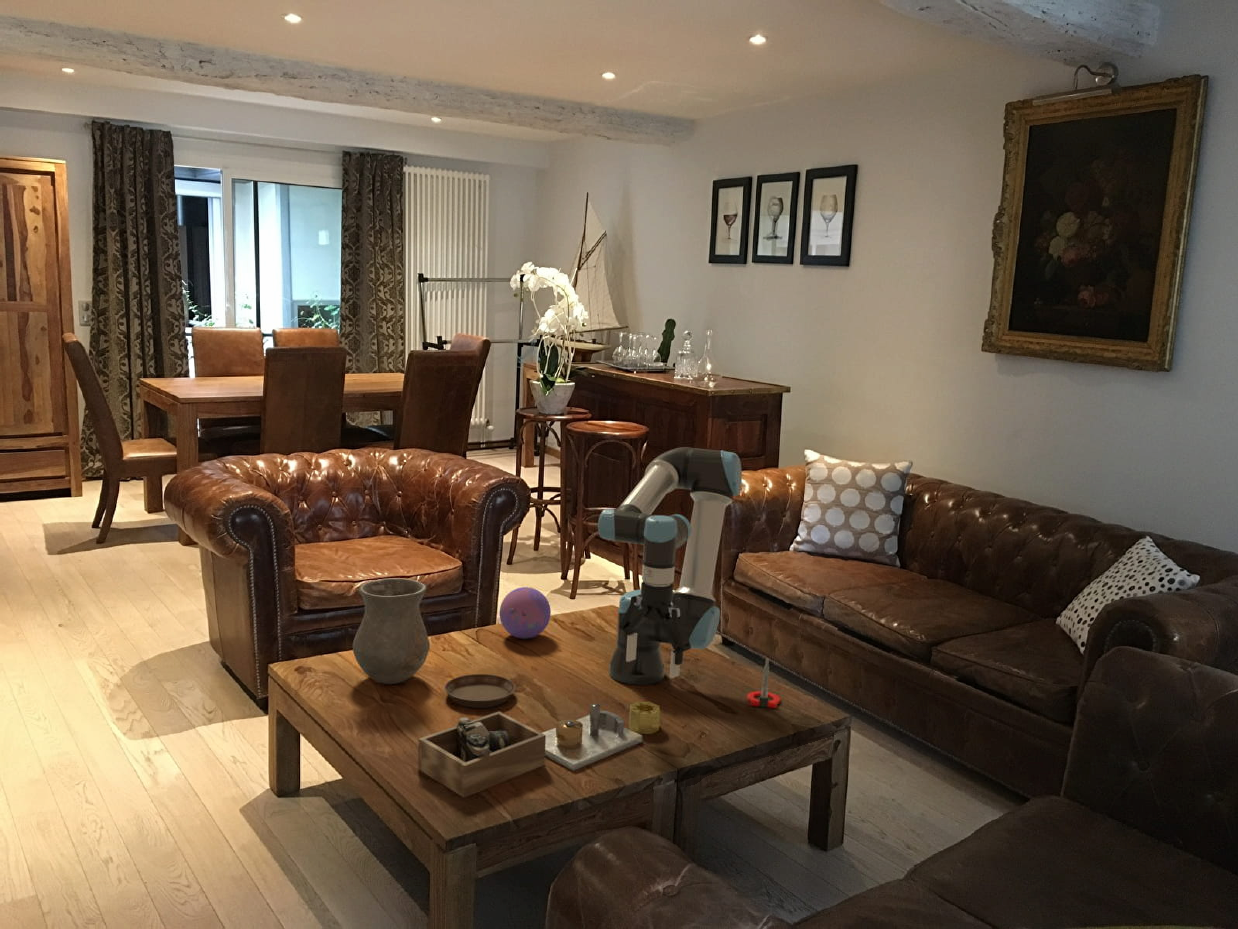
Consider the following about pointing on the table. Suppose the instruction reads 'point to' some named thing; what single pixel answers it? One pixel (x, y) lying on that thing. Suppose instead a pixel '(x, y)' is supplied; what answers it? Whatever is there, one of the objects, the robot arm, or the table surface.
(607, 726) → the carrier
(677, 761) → the table surface
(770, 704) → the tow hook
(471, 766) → the camera caddy
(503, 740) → the camera
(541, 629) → the decorative ball
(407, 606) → the vase
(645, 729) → the gear
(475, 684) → the plant saucer
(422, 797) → the table surface
